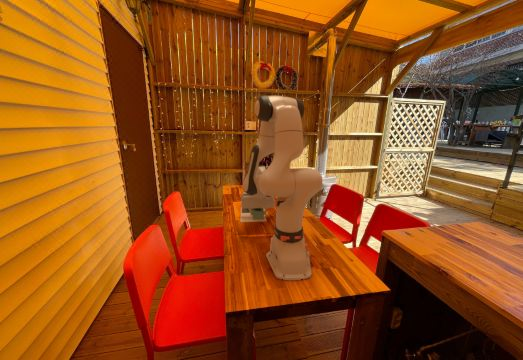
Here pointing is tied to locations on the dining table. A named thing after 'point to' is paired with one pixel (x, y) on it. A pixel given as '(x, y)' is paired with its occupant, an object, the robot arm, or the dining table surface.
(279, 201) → the ammunition clip
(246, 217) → the post board
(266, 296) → the dining table surface
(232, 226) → the dining table surface
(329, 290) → the dining table surface
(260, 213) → the collar
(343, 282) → the dining table surface
